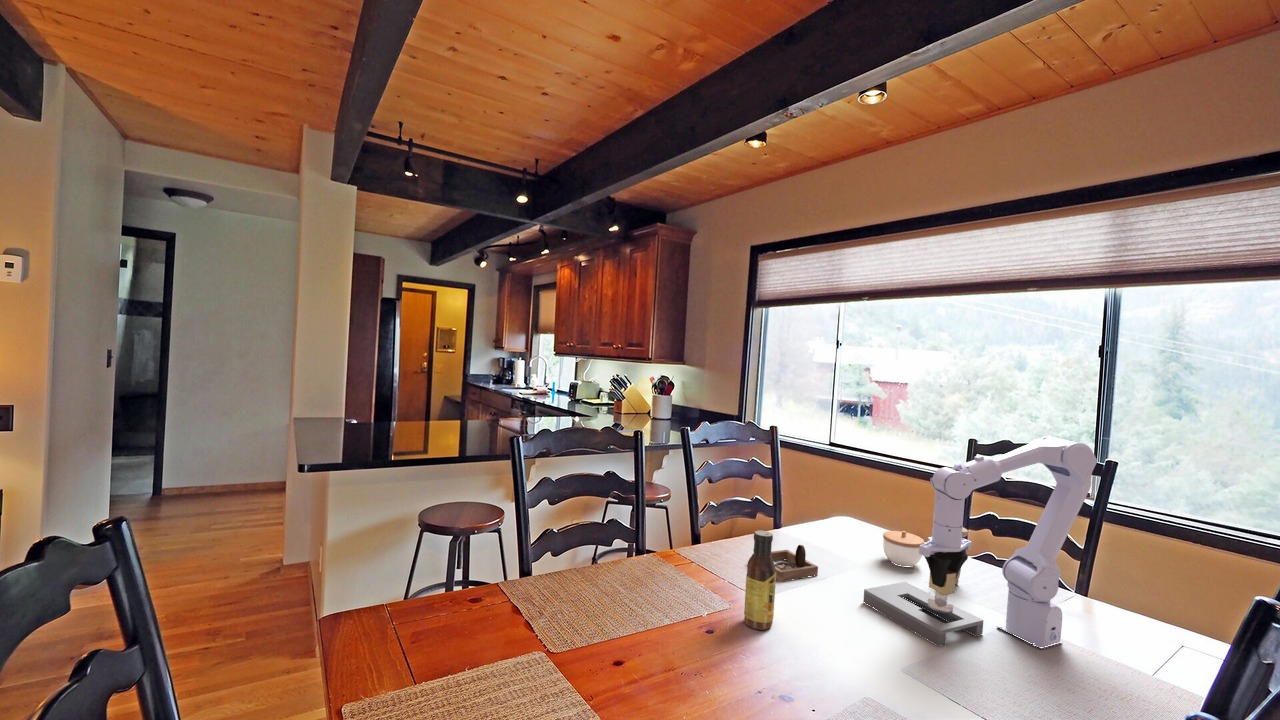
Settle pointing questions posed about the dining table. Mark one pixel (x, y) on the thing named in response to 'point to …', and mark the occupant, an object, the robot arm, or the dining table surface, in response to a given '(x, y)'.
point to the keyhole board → (919, 612)
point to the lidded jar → (902, 547)
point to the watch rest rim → (794, 573)
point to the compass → (799, 560)
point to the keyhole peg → (943, 593)
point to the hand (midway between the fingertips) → (943, 584)
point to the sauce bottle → (760, 583)
